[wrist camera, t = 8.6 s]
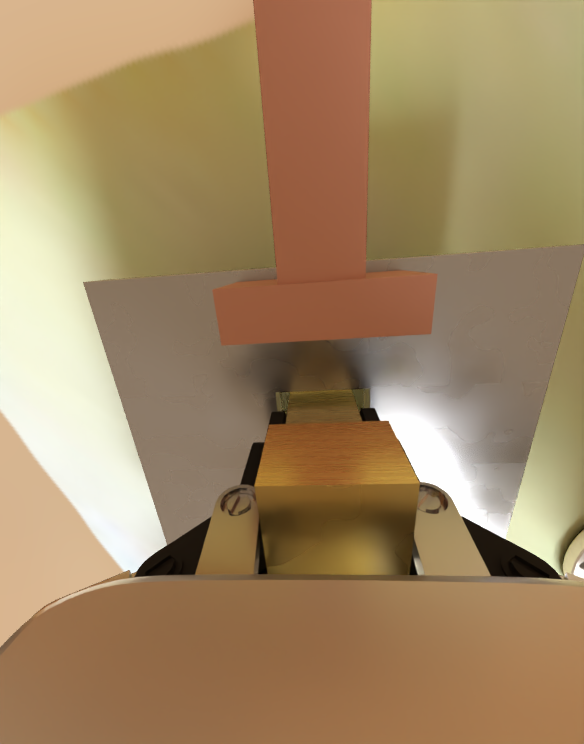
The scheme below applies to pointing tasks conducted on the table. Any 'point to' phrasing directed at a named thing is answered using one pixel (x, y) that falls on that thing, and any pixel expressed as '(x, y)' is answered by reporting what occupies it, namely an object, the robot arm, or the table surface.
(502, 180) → the table surface
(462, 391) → the square metal plate
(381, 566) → the yellow block
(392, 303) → the bracket
